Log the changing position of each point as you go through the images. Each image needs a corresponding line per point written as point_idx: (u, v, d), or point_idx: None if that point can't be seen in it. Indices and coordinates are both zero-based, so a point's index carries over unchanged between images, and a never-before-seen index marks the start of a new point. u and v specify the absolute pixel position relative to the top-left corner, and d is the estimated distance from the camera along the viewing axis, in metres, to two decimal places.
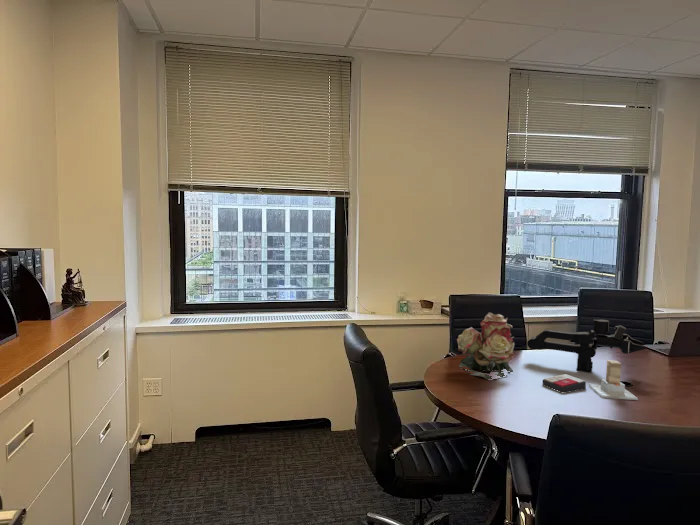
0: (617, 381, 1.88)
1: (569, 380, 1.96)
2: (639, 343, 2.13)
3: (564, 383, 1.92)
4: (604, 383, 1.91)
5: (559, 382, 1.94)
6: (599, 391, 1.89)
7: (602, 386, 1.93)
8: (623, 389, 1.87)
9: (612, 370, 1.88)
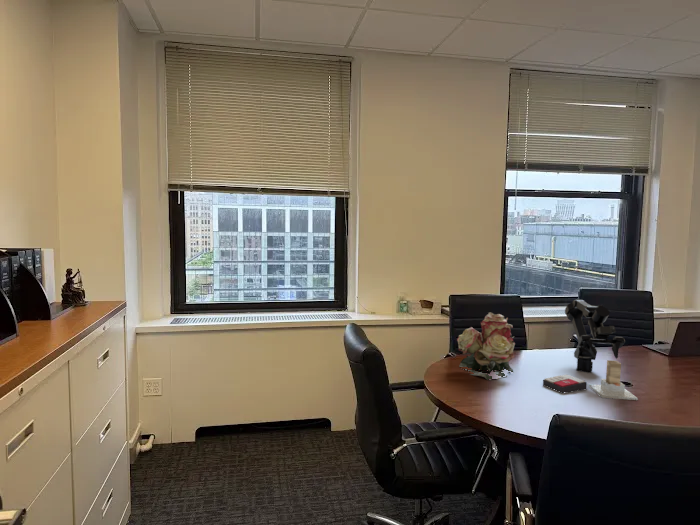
0: (617, 381, 1.88)
1: (570, 380, 1.95)
2: (615, 354, 1.98)
3: (564, 383, 1.92)
4: (604, 383, 1.91)
5: (559, 382, 1.93)
6: (599, 391, 1.89)
7: (602, 386, 1.93)
8: (623, 389, 1.87)
9: (612, 370, 1.88)
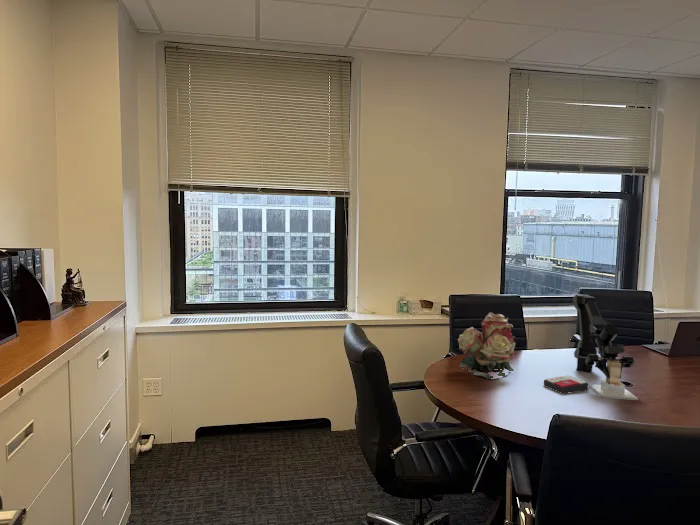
0: (617, 381, 1.88)
1: (571, 381, 1.94)
2: None
3: (565, 384, 1.91)
4: (604, 383, 1.91)
5: (560, 383, 1.93)
6: (599, 391, 1.89)
7: (602, 386, 1.93)
8: (623, 389, 1.87)
9: (612, 370, 1.88)
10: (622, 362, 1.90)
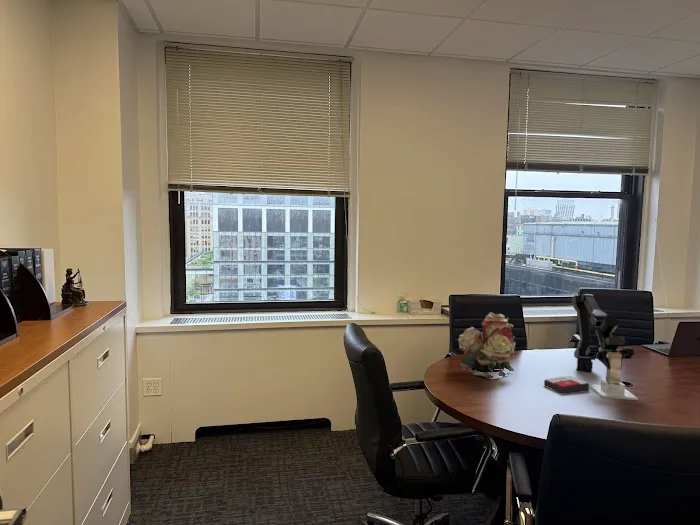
0: (618, 372, 1.88)
1: (571, 381, 1.94)
2: None
3: (565, 384, 1.91)
4: (604, 383, 1.91)
5: (560, 383, 1.92)
6: (599, 391, 1.89)
7: (602, 386, 1.93)
8: (623, 389, 1.87)
9: (612, 362, 1.88)
10: (623, 353, 1.90)
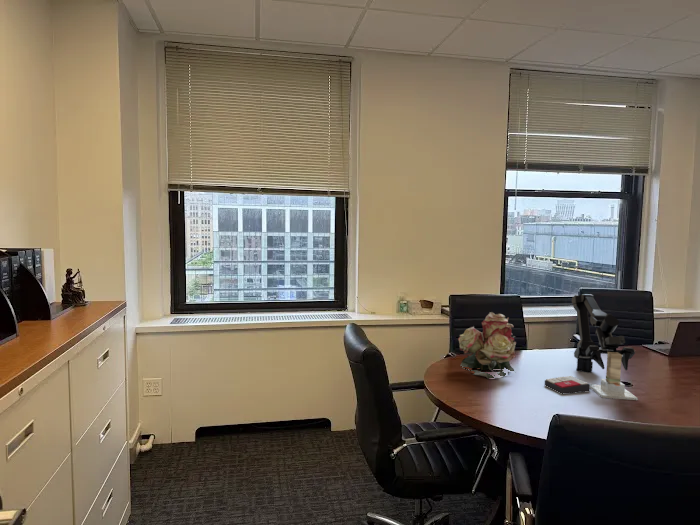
0: (618, 372, 1.88)
1: (572, 382, 1.93)
2: (624, 365, 1.89)
3: (565, 384, 1.90)
4: (604, 383, 1.91)
5: (560, 383, 1.92)
6: (599, 391, 1.89)
7: (602, 386, 1.93)
8: (623, 389, 1.87)
9: (612, 362, 1.88)
10: (629, 353, 1.90)
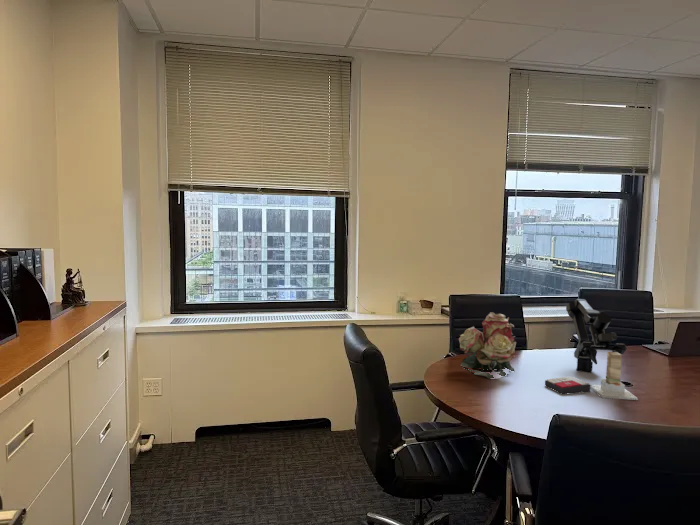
0: (618, 372, 1.88)
1: (572, 382, 1.93)
2: None
3: (565, 384, 1.90)
4: (604, 383, 1.91)
5: (560, 383, 1.92)
6: (599, 391, 1.89)
7: (602, 386, 1.93)
8: (623, 389, 1.87)
9: (612, 362, 1.88)
10: (620, 349, 1.97)
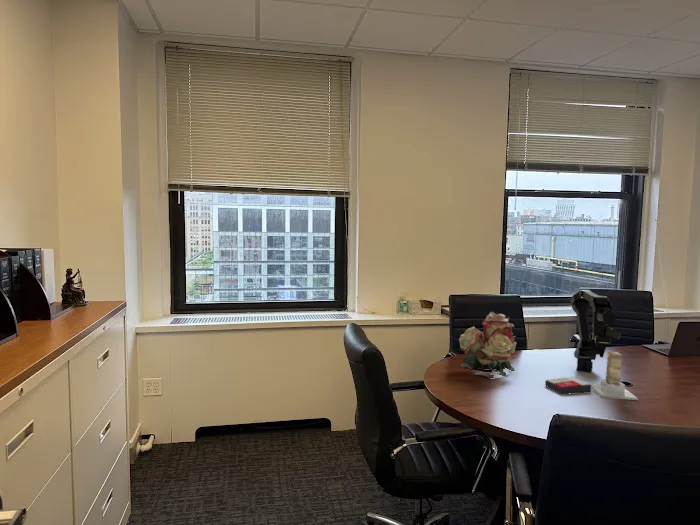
0: (618, 372, 1.88)
1: (572, 382, 1.93)
2: (597, 350, 2.09)
3: (565, 385, 1.90)
4: (604, 383, 1.91)
5: (560, 384, 1.92)
6: (599, 391, 1.89)
7: (602, 386, 1.93)
8: (623, 389, 1.87)
9: (612, 362, 1.88)
10: None
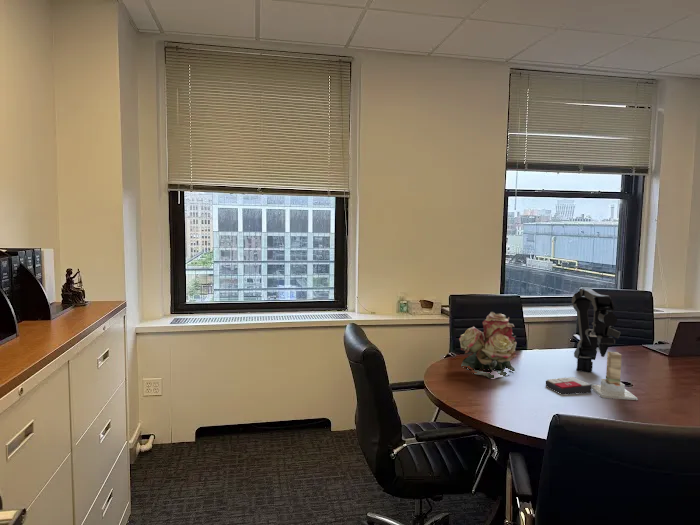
0: (618, 372, 1.88)
1: (573, 383, 1.92)
2: (594, 347, 2.10)
3: (565, 385, 1.90)
4: (604, 383, 1.91)
5: (561, 384, 1.91)
6: (599, 391, 1.89)
7: (602, 386, 1.93)
8: (623, 389, 1.87)
9: (612, 362, 1.88)
10: None
